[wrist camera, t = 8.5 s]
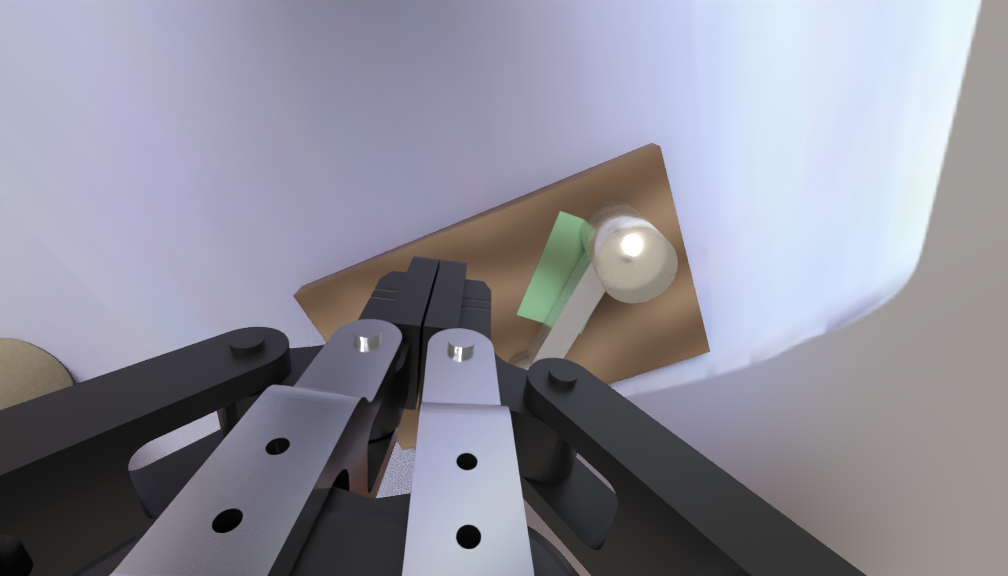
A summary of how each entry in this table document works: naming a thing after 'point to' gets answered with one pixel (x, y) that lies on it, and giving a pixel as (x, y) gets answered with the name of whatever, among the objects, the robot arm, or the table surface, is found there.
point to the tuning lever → (605, 275)
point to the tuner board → (545, 275)
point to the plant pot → (28, 373)
